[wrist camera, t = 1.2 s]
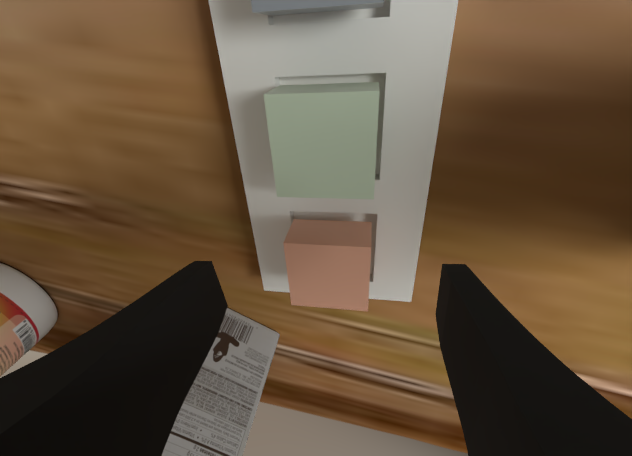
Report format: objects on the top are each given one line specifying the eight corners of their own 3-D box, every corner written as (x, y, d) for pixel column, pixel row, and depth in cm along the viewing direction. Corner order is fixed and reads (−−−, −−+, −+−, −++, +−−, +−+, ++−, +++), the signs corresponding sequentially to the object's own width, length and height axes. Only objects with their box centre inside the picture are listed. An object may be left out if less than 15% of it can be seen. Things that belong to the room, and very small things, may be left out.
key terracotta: (368, 282, 19) (367, 311, 17) (299, 277, 20) (291, 304, 18) (371, 221, 17) (371, 247, 15) (293, 219, 18) (283, 242, 16)
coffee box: (244, 378, 31) (147, 636, 18) (186, 351, 30) (38, 602, 17) (282, 332, 26) (188, 641, 13) (215, 298, 25) (38, 594, 12)
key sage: (373, 177, 15) (373, 199, 13) (289, 176, 16) (277, 196, 14) (378, 81, 13) (379, 91, 11) (279, 85, 14) (263, 94, 12)
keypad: (408, 284, 21) (411, 301, 20) (270, 275, 23) (264, 290, 22) (484, -237, 10) (501, -280, 8) (192, -182, 11) (168, -210, 10)
